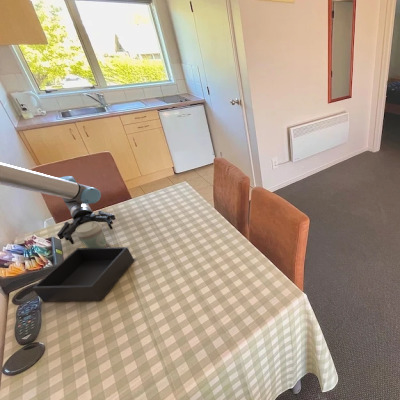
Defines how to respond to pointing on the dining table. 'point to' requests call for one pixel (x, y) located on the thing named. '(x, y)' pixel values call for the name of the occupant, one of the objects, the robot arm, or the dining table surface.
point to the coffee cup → (92, 235)
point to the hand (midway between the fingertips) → (91, 233)
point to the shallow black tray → (84, 275)
